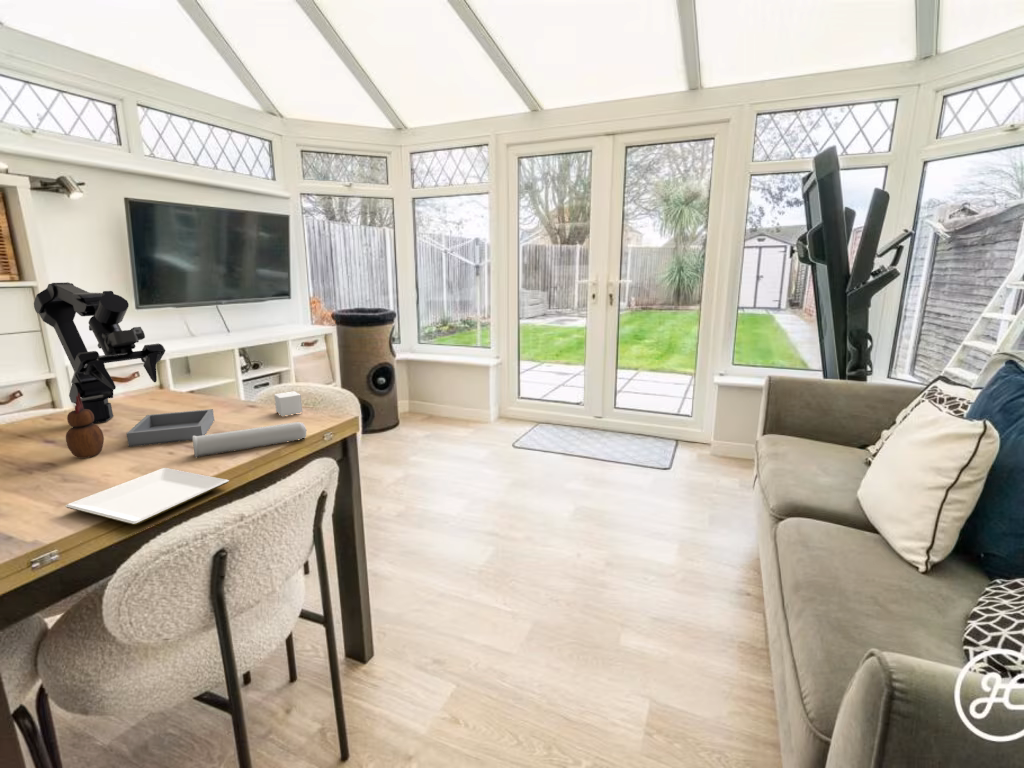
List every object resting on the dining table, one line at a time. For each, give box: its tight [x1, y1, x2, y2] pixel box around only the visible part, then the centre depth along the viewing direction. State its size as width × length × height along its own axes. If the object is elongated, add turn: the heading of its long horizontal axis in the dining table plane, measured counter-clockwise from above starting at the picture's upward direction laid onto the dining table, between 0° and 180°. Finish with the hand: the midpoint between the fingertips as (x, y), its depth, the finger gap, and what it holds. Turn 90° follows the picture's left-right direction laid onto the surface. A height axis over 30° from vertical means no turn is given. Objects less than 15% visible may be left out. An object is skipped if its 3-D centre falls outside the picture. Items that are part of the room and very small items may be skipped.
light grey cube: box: [273, 390, 303, 417], centre depth 152 cm, size 6×6×6 cm
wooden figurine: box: [65, 393, 105, 459], centre depth 117 cm, size 7×6×15 cm
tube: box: [192, 421, 307, 458], centre depth 124 cm, size 5×5×25 cm
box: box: [125, 408, 215, 448], centre depth 135 cm, size 16×17×4 cm
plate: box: [65, 467, 230, 526], centre depth 96 cm, size 19×19×2 cm
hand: (135, 385), depth 128 cm, fingers open, 9 cm apart
